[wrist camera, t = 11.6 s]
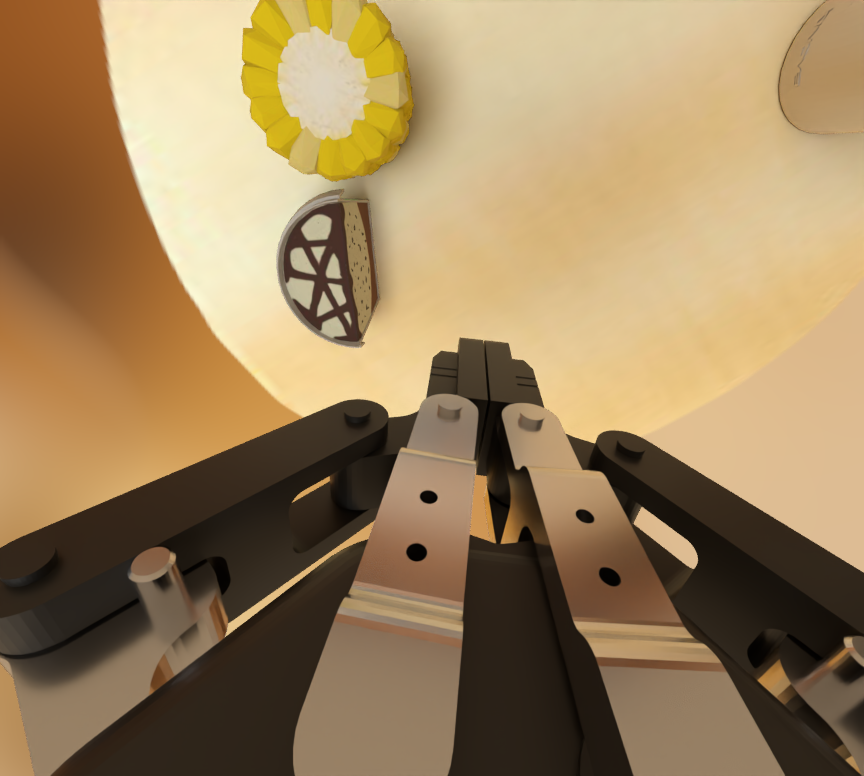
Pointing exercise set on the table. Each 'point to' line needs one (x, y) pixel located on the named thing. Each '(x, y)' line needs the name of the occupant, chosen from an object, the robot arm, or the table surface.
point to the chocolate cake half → (330, 268)
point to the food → (327, 84)
